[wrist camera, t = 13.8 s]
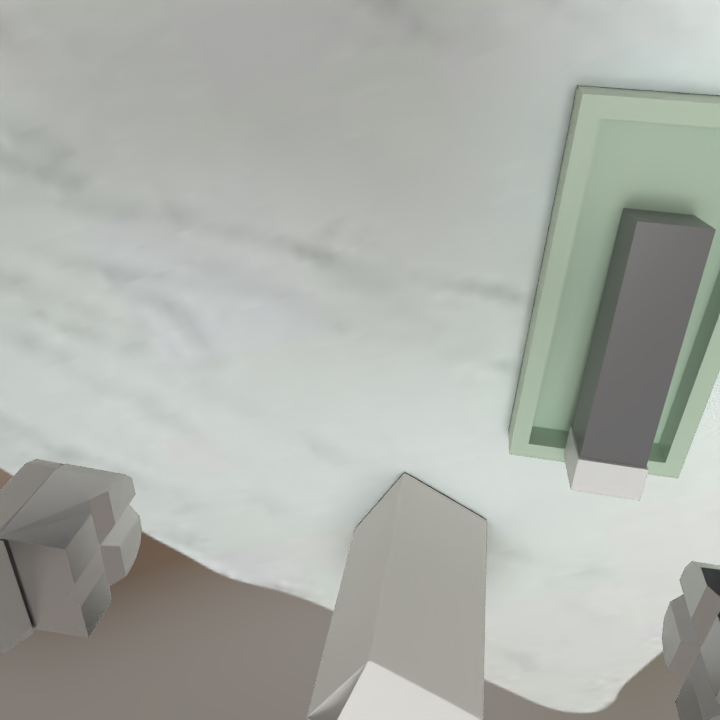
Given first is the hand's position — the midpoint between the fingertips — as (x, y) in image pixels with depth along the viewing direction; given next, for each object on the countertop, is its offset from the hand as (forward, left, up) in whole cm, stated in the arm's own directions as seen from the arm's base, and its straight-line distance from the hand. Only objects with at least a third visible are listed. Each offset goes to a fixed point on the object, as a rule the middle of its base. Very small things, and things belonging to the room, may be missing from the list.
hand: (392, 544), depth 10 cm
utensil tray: (+10, -8, -29) cm, 32 cm away
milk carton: (0, -28, -29) cm, 40 cm away
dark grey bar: (+10, -10, -27) cm, 31 cm away
